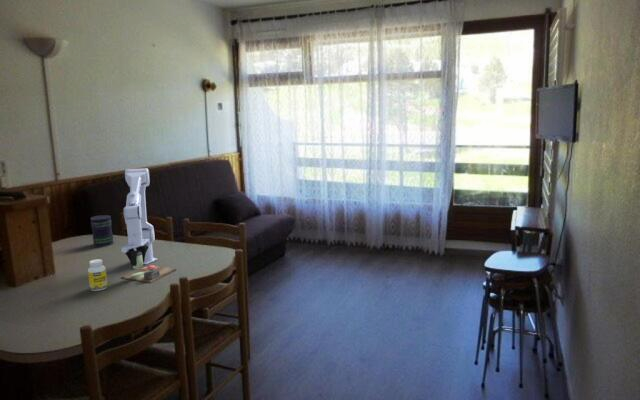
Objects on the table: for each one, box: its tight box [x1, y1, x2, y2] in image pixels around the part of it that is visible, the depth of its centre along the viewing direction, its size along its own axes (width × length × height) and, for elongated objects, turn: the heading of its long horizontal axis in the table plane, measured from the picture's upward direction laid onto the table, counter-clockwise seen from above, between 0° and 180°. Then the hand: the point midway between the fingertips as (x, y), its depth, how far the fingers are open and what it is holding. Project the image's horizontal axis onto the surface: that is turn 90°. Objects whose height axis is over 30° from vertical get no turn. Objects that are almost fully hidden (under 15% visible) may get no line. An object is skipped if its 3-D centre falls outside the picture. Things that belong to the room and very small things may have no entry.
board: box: [120, 264, 177, 283], centre depth 204 cm, size 16×16×3 cm
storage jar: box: [90, 214, 114, 248], centre depth 249 cm, size 10×10×15 cm
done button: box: [146, 264, 156, 271], centre depth 198 cm, size 3×3×2 cm
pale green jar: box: [132, 251, 144, 270], centre depth 200 cm, size 4×4×7 cm
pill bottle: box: [87, 258, 108, 292], centre depth 188 cm, size 6×6×12 cm
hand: (137, 263), depth 201 cm, fingers closed on pale green jar, 4 cm apart
